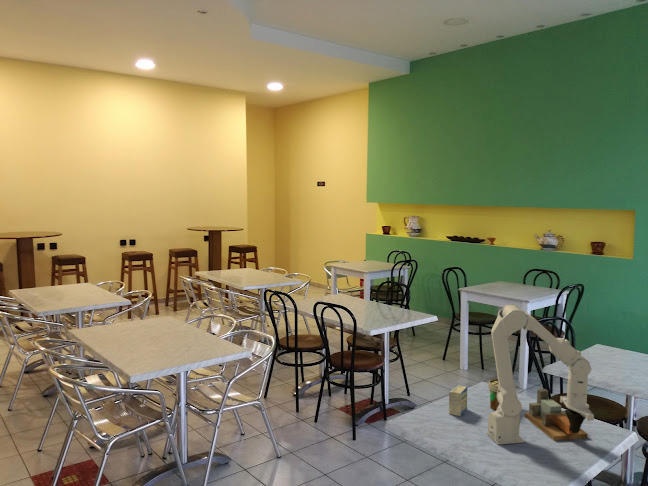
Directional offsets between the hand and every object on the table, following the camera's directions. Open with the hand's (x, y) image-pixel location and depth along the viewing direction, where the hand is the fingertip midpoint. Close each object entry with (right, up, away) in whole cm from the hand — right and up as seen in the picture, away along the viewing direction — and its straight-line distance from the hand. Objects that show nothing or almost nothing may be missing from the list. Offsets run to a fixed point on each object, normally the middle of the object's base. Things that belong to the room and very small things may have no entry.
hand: (575, 432), depth 167 cm
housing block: (-2, -1, +14) cm, 14 cm away
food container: (-16, -1, +28) cm, 33 cm away
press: (-2, -2, +11) cm, 12 cm away
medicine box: (-32, -1, +24) cm, 40 cm away
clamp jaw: (-1, -1, +6) cm, 6 cm away
